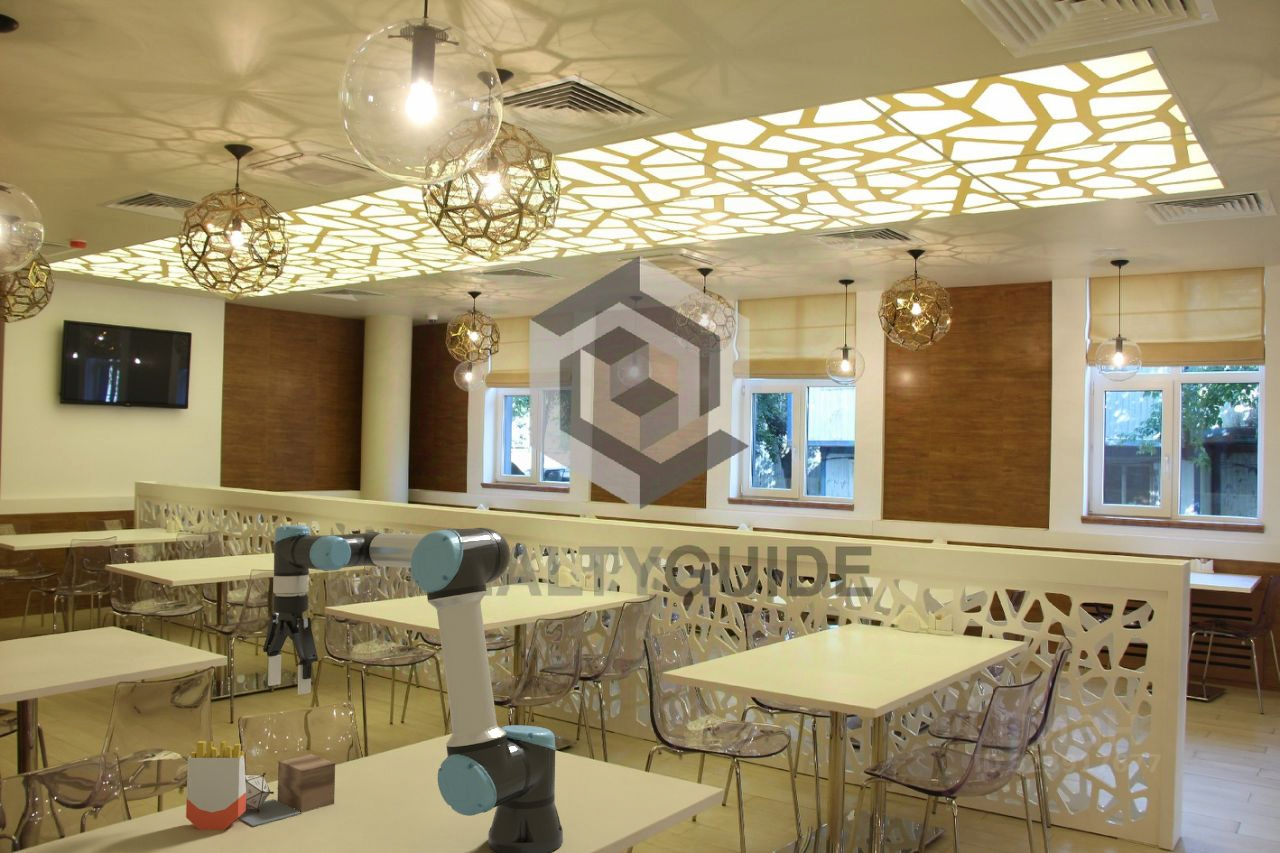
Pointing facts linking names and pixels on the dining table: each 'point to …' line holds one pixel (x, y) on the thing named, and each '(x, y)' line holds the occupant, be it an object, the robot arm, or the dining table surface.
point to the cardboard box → (306, 782)
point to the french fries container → (215, 786)
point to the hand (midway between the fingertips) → (289, 689)
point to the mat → (267, 813)
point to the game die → (256, 791)
